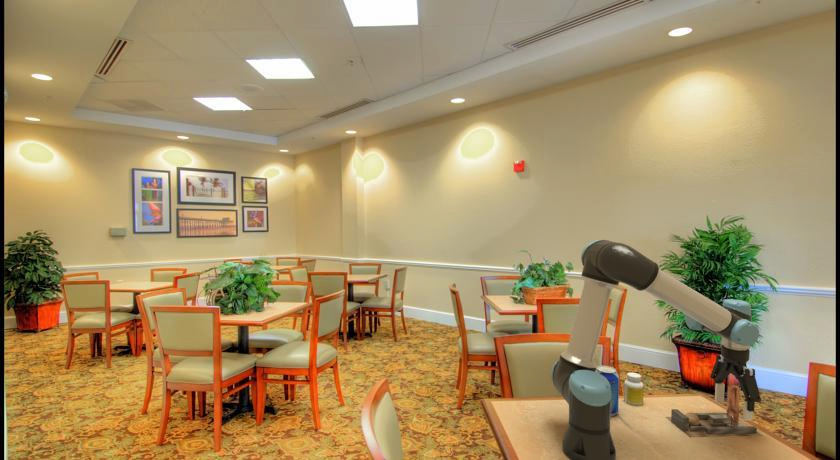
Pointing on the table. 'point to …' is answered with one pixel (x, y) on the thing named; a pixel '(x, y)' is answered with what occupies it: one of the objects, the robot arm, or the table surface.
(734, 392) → the lever handle
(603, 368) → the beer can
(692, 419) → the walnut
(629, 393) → the pill bottle
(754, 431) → the base
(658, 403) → the table surface
